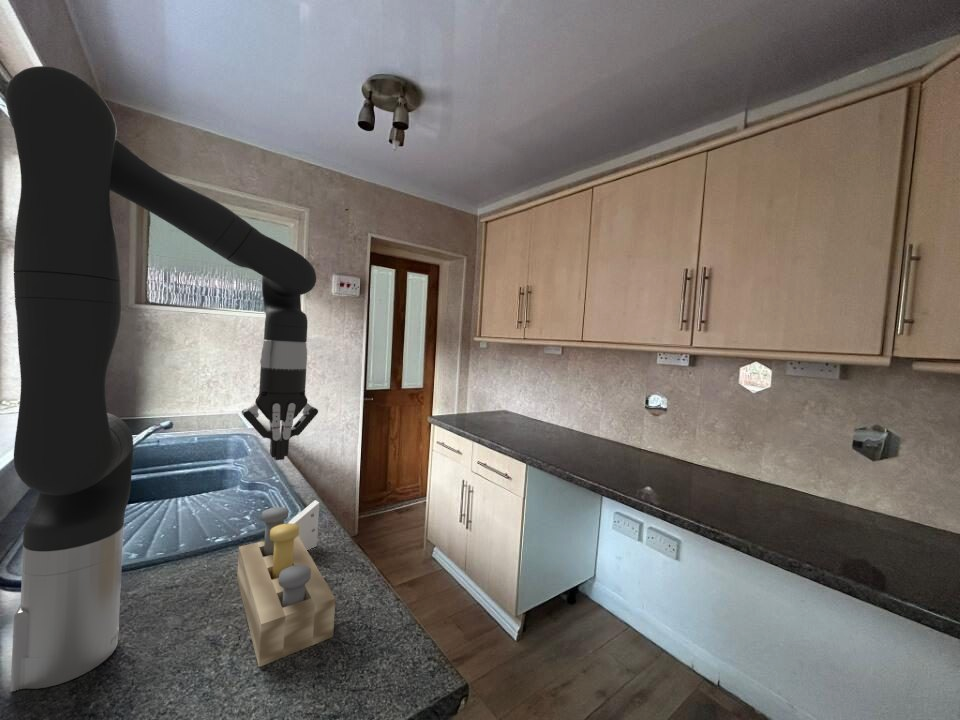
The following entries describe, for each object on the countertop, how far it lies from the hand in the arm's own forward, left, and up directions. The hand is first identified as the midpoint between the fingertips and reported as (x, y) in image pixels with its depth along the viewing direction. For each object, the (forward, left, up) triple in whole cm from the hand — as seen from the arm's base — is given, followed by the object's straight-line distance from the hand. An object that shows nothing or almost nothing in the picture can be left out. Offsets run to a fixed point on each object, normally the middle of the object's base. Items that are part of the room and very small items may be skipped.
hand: (278, 458), depth 70 cm
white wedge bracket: (+7, +9, -23) cm, 26 cm away
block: (0, -8, -23) cm, 24 cm away
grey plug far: (0, 0, -19) cm, 19 cm away
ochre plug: (0, -8, -19) cm, 21 cm away
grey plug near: (0, -16, -22) cm, 27 cm away
